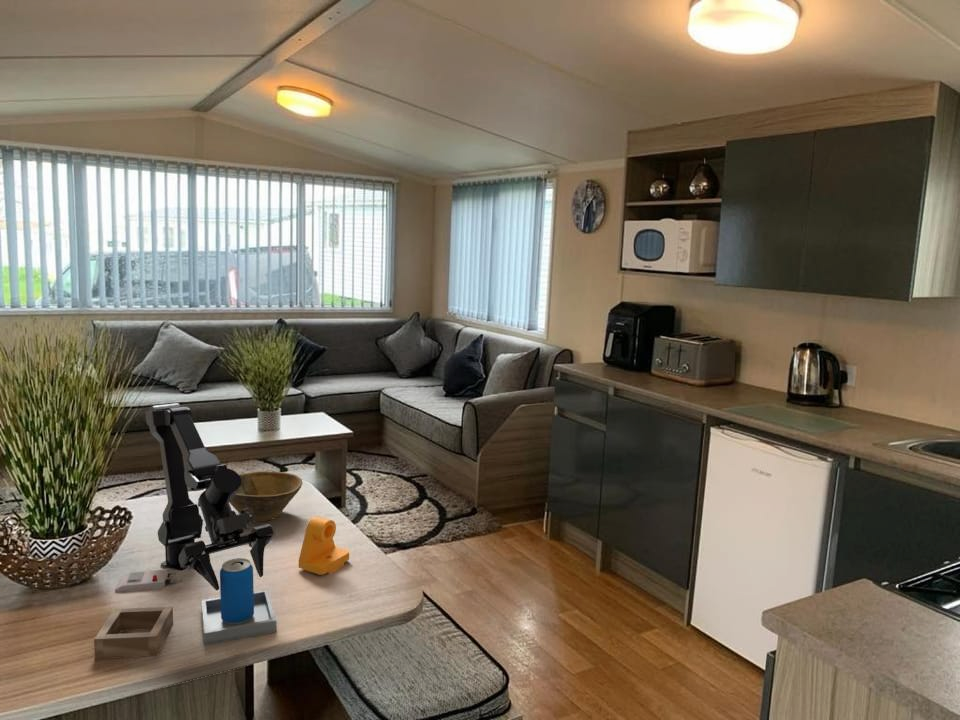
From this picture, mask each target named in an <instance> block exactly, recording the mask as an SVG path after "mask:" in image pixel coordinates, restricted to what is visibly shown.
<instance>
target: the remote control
mask: <svg viewBox="0 0 960 720" xmlns="http://www.w3.org/2000/svg"><path fill="white" fill-rule="evenodd" d="M174 575H176V576H177V573H176V572H175V573H171V572H170V573H169V570H168V569H166V568H165V569H155V570H154V569H152V570H142V571H133V572H131V571H130V572H127V573H125V574H122V575H121V576H120V578H119V580H118V581H117V584H116V585H115V589H114V592H115V593H116V592H118V593H119V592H128V591H129V592H130V591H138V590H139V591H140V590H149V589H150V590H151V589H162V588H164V587H165V586H166V585H169V584H171V583H178V582H183V580H184V579H171V578H173V577H174Z"/></svg>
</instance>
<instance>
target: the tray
mask: <svg viewBox="0 0 960 720" xmlns="http://www.w3.org/2000/svg"><path fill="white" fill-rule="evenodd" d="M200 602H201V617H202V628H203V629H202V630H203V640H204V642H203V643H204V646H207V645H208V646H209V645H212V644H218V643H224V642H229V641H235V640H240V639H244V638H245V639H246V638H251V637H256V636H263V635H267V634H273V633H277V618H276V615H275V614H276V613H275V610H274V606H273V603H272V600H271V597H270V591H269V590H268V589H263V590H256V591H254V615H253V616H252V617H251V618H250V619H249V620H248V621H247V622H245V623H242V624H237V625H231V624H228V623H226V622H224V621H223V620H222V619H221V596H220V597H218V596H217V597H213V598H206V599H202V600H201V601H200Z"/></svg>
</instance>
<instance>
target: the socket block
mask: <svg viewBox="0 0 960 720" xmlns="http://www.w3.org/2000/svg"><path fill="white" fill-rule="evenodd" d="M173 608H174V606H172V605H171V606H170V605H169V606H150V607H148V606H147V607H126V608H125V607H124V608H122V607H121V608H114V610H113V611H112V612H111V614H110V616H109V617H108V618H107V620H106V621H105V622H104V624H103V626H102V627H101V629H100V630H99V631H98V633H97V634H96V635H95V637H94V638H93V646H94V648H93V649H94V659H95V660H98V659H99V660H100V659H102V660H103V659H118V658H119V659H120V658H122V659H123V658H137V657H138V658H139V657H158V656H159V653H160V651H161V650H162V647H163V645H164V644H165V642H166V639H167V638H168V635H169V634H170V632H171V630H172V629H173V626H174V609H173ZM143 630H144V631H145V630H147V631H148V630H151V631H150V632H131V633H129V632H128V633H121V632H123V631H124V632H125V631H143Z"/></svg>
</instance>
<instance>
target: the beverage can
mask: <svg viewBox="0 0 960 720" xmlns="http://www.w3.org/2000/svg"><path fill="white" fill-rule="evenodd" d="M219 591H220V592H219V593H220V597H221V619H222V620H223V621H224V622H226V623H228V624H231V625H237V624H242V623H245V622H247V621H248V620H249V619H250V618H251V617H252V616H253V615H254V592H255V591H254V566H253V565H252V561H250V559H247V558H243V557H240V558H238V557H237V558H232V559H229V560H227V561H224V562H223V563H222V564H221V568H220V571H219Z"/></svg>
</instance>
